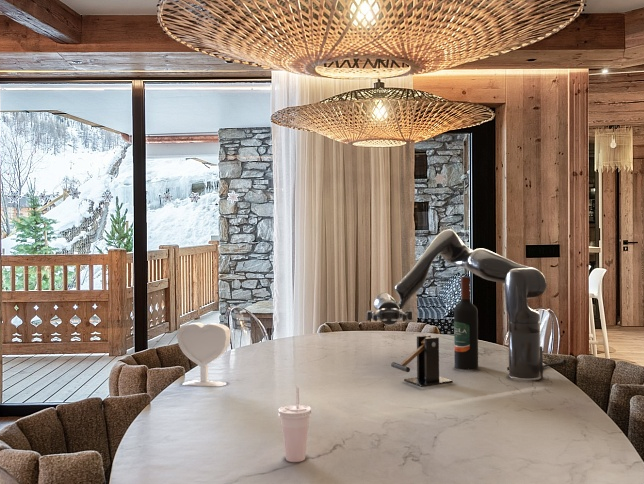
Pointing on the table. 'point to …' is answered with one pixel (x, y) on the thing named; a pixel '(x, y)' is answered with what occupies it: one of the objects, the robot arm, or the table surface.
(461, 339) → the wine bottle
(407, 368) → the lever
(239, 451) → the table surface
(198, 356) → the heart sculpture
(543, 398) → the table surface
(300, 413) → the smoothie
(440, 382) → the bracket
